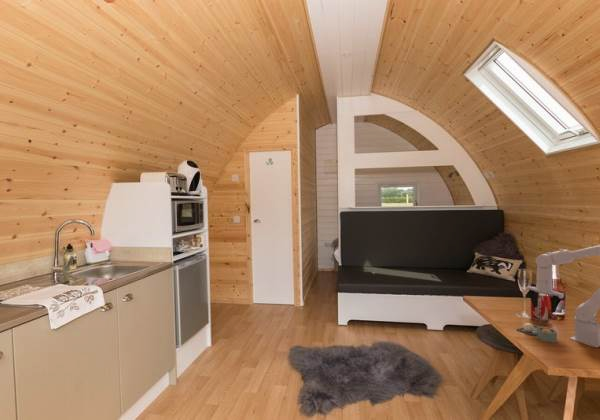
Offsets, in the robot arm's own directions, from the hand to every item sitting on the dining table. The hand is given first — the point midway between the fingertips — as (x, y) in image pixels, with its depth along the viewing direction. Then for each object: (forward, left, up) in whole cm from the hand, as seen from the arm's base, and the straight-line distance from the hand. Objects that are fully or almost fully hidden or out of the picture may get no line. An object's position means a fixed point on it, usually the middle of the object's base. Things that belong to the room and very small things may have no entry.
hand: (544, 309), depth 150 cm
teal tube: (-6, +9, -10) cm, 15 cm away
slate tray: (+2, +5, -10) cm, 11 cm away
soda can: (+10, -14, -10) cm, 20 cm away
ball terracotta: (-6, +9, -9) cm, 14 cm away
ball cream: (+2, +8, -10) cm, 13 cm away
